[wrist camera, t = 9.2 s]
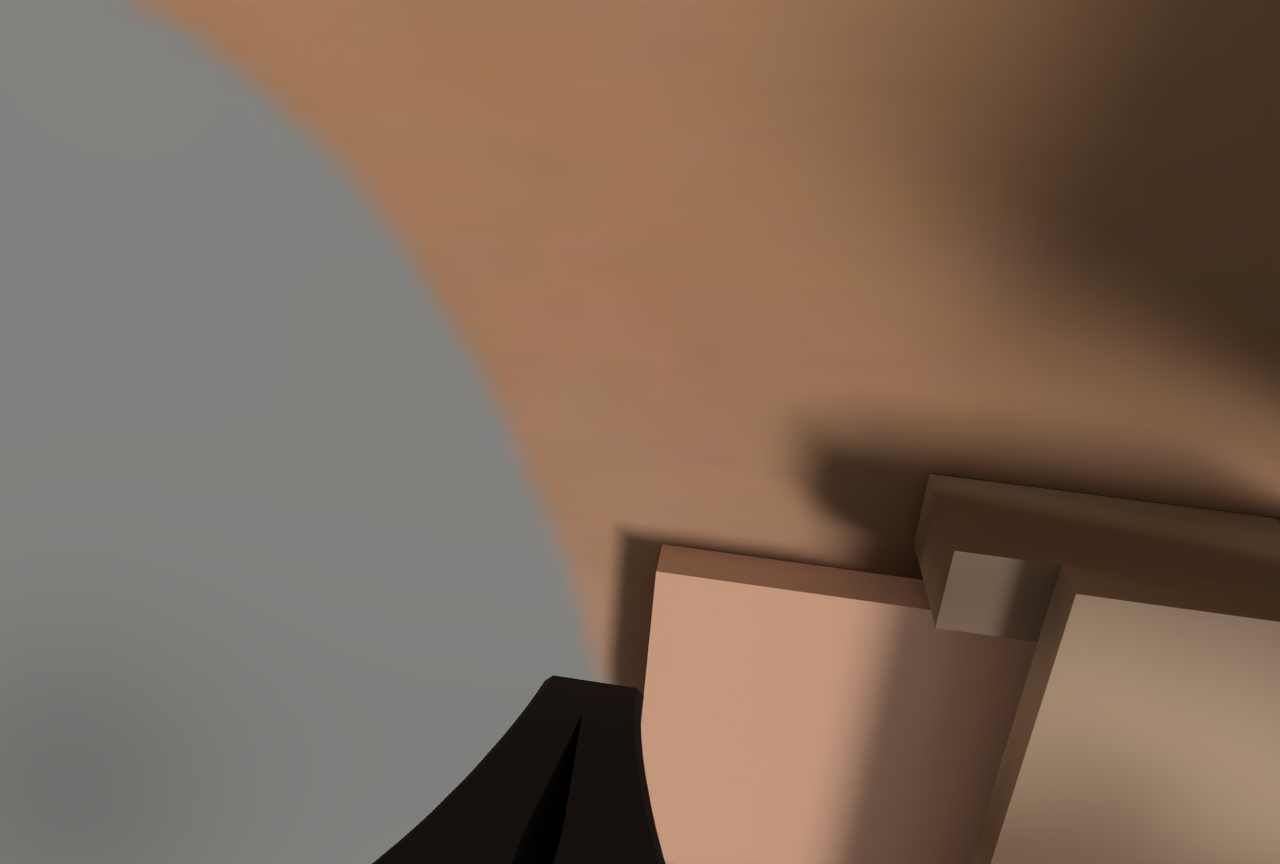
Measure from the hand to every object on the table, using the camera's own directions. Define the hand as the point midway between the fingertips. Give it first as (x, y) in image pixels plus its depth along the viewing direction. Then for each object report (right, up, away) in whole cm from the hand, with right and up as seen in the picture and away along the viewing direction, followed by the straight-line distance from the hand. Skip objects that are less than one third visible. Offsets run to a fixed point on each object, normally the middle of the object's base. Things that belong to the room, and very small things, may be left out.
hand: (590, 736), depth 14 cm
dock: (+11, -4, +10) cm, 15 cm away
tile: (+7, -3, +11) cm, 14 cm away
